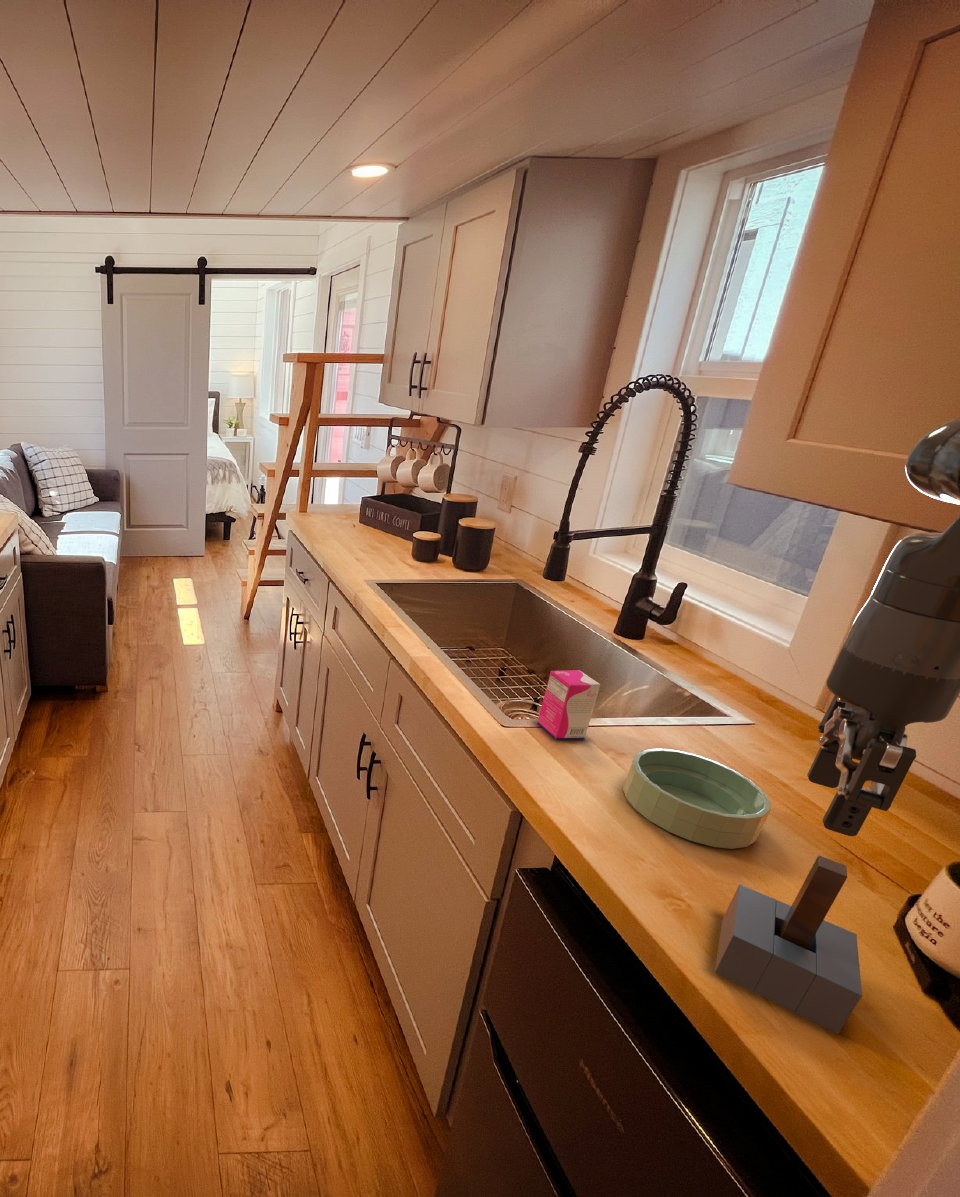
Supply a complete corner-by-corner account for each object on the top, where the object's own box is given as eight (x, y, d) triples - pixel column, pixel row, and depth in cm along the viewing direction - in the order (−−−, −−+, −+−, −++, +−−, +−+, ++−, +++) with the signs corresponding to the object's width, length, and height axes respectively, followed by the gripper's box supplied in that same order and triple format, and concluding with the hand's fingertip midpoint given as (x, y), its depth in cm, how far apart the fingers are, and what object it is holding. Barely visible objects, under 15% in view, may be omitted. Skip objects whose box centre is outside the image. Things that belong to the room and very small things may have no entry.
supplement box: (564, 722, 122) (580, 669, 118) (585, 740, 117) (603, 685, 113) (535, 722, 122) (550, 669, 118) (554, 741, 116) (571, 685, 112)
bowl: (757, 812, 100) (772, 780, 98) (751, 870, 89) (768, 835, 86) (632, 765, 110) (643, 736, 108) (612, 812, 99) (624, 780, 97)
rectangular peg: (787, 972, 74) (846, 865, 68) (787, 985, 73) (847, 877, 67) (762, 960, 76) (818, 854, 69) (761, 972, 74) (818, 865, 68)
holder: (834, 971, 74) (856, 933, 72) (837, 1035, 67) (862, 995, 65) (721, 919, 81) (739, 883, 78) (714, 973, 74) (733, 935, 72)
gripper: (1003, 703, 48) (905, 869, 54) (942, 639, 59) (866, 783, 65) (863, 673, 52) (786, 830, 58) (830, 618, 63) (768, 756, 69)
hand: (828, 805), depth 62 cm, fingers open, 8 cm apart
